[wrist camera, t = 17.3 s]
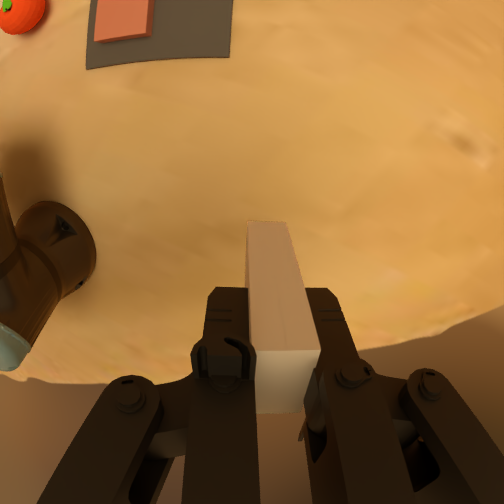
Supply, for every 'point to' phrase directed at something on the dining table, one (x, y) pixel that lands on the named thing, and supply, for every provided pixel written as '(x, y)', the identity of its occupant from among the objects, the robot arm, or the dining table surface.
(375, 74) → the dining table surface
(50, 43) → the dining table surface
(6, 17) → the clementine
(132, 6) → the block
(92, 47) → the mat
